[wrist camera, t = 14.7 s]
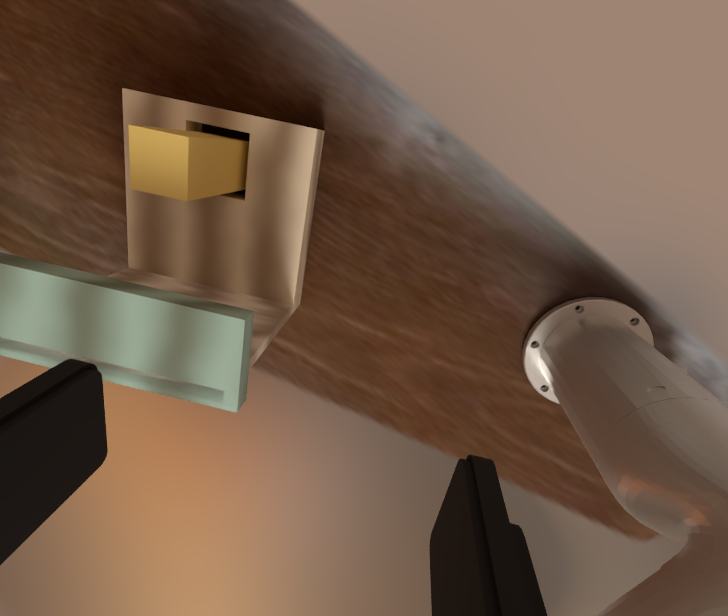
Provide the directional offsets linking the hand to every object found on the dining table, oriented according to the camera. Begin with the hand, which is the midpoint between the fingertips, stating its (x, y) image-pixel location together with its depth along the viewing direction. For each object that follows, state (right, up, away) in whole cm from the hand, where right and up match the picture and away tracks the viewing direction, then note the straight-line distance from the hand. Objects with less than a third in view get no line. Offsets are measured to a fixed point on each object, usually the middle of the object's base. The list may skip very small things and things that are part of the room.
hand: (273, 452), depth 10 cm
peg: (-11, +18, +29) cm, 36 cm away
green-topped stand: (-12, +14, +31) cm, 36 cm away
